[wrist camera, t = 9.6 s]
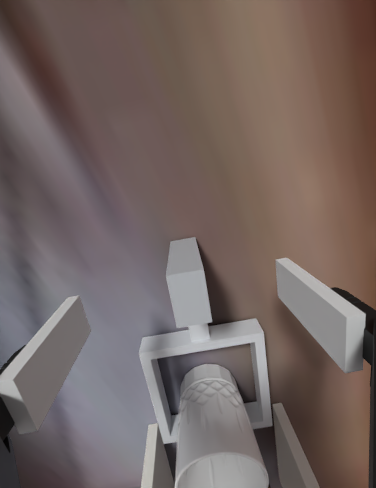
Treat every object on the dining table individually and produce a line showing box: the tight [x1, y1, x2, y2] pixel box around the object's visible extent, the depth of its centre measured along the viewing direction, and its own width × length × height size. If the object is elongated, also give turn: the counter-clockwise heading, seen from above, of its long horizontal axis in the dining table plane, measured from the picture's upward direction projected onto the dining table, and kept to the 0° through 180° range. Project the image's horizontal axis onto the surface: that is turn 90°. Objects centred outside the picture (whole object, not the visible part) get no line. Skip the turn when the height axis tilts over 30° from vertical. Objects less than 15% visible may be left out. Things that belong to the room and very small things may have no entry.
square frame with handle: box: [139, 237, 273, 444], centre depth 23 cm, size 24×13×9 cm, turn 10°
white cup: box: [175, 364, 269, 488], centre depth 24 cm, size 8×8×10 cm
